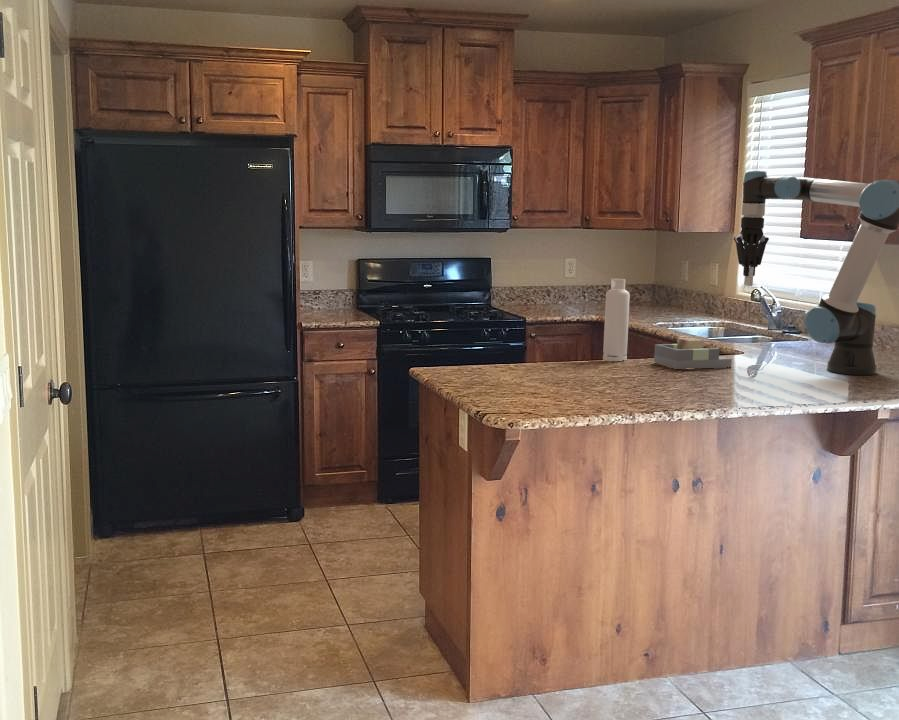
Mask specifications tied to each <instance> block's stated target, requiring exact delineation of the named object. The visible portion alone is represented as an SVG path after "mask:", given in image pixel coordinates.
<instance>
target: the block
mask: <svg viewBox="0 0 899 720" xmlns="http://www.w3.org/2000/svg"><path fill="white" fill-rule="evenodd" d="M676 344H677V349H703V348H704V340H703V339H699V338H695V337H682V338H680V337H679V338H678V337H677V341H676Z"/></svg>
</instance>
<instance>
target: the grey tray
mask: <svg viewBox="0 0 899 720" xmlns="http://www.w3.org/2000/svg"><path fill="white" fill-rule="evenodd" d="M654 362H656V363H659V364H662V365H665V366H668V367H671V368H674V369H673V370H675V369H686V368H714V369H730V368H729V367H731V368H732V358H729V357H724V356H721V355H720V348H717V347H711V348H706V347H705V348H704V347H703V349H677V343H671V344H670V343H663V344H662V343H661V344H660V343H657V344H654V354H653V363H654ZM668 367H667V368H668ZM727 367H728V368H727ZM671 368H670V369H671Z"/></svg>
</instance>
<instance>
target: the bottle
mask: <svg viewBox="0 0 899 720" xmlns="http://www.w3.org/2000/svg"><path fill="white" fill-rule="evenodd" d="M610 283H611V284H610V288H609V289H608V290H607V291H606V293H605V302H604V303H605V307H604V309H605V310H604V329H603V346H602V347H603V349H602V350H603V351H602V352H603V353H602V361H605V362H612V361H622V360H627V359H628V357H627V353H628V339H629V337H628V335H629V318H630V317H629V316H630V299H631V297H630V296H631V295H630V292H629V291H628V290H626V278H611V280H610ZM627 361H628V360H627Z"/></svg>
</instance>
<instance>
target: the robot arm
mask: <svg viewBox="0 0 899 720" xmlns="http://www.w3.org/2000/svg"><path fill="white" fill-rule="evenodd" d="M743 177H744V178H743V182H742V185H743V186H742V189H743V190H742V201H741V202H742V203H741V205H742V206H741V216H742V217H741V219H740V228H741V229H740V231H739V234H738V236H734V237H733V241H734V243H735V247H736V254H737V260H738V261H737V262H738V264H739V265H741V266H742V268H743V269H742V270H743V272H742V274H743V276H744V280H743V283H744V284H743V286H745V287H753V285H754V283H753V282H754V277H756V276H755V275H756V268H757V267H759V266H761V264H762V260H763V258H764V253H765V250H766V246H767V244H768V242H769V240H770V238H769V237H767V236H765V234H764V230H763V229H764V226H765V218H764V216H765V215H766V200H797V201H807V202H817V203H824V204H825V203H826V204H834V205H840V206H841V205H842V206H848V207H849V206H850V207H857V208H859V210H860V213H859V215H858V220H859V222H860V225H859V228H858V230H857V232H856V234H855V236H854V238H853V240H852V243H851V245H850V247H849V250H848V251H847V254H846V256H845V258H844V260H843V263H842V265H841V267H840V269H839V272H838V273H837V276H836V277H835V280H834V282H833V284H832V287H831V289H830V291H829V293H827V294H826V293H825V294H824V295H822V297H821V299H820V300H819V303H818V305H817V306H815V307H813V308H812V309H810V310H809V311H808V312H807V314H806V315H805V320H804V325H805V326H804V327H805V330H806V331H807V332H806V333H807V334H808V336H809V337H810V339H812V341H813V340H814V342H817V343H818V344H819V343H820V344H832V343H834V347H833V349H832V352H831V354H830V358H829V361H828V362H827V365H826V370H827V371H828V372H831V373H835V374H844V375H850V376H852V375H854V376H855V375H856V376H871V375H876V374H877V369H878V368H877V364H876V359H875V355H874V351H873V347H874V336H875V335H874V334H875V325H876V318H877V313H876V310H877V309H876V305H874V304H873V303H866V302H859V298H860V296H861V294H862V292H863V289H864V288H865V286H866V284H867V282H868V279H869V277H870V275H871V272H872V271H873V269H874V266H875V265H876V262H877V260H878V258H879V256H880V255H881V252H882V250H883V247H884V245H885V244H886V241H887V239H888V237H889V234H891V233H893V232H897V231H898V228H899V180H897V179H896V180H895V179H894V180H893V179H888V178H886V179H880V180H875V181H873V182H871V183H864V182H854V181H853V182H852V181H843V180H833V179H832V180H831V179H823V178H813V177H801V176H800V177H799V176H798V177H797V176H794V175H792V176H791V175H781V176H780V175H779V176H778V175H777V176H774V175H773V176H769V175H768V172H767V171H766V170H747V171H746V172H744V175H743Z"/></svg>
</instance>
